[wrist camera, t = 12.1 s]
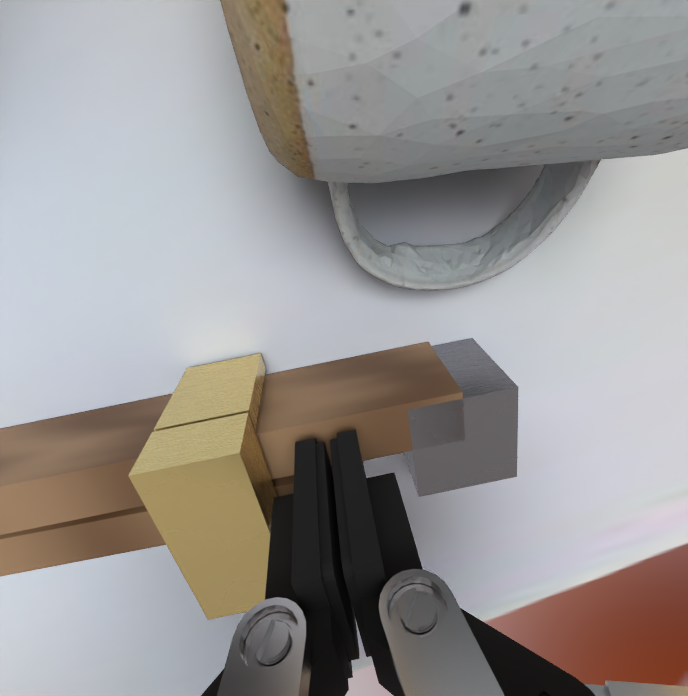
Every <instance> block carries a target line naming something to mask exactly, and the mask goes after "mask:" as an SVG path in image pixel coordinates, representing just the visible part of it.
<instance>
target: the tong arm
mask: <svg viewBox="0 0 688 696" xmlns="http://www.w3.org/2000/svg"><path fill="white" fill-rule="evenodd" d="M331 470H332V467H331ZM332 474H333V470H332ZM272 483H273V485H274V488H275V491H276V494H277V497H279V496H284V495H289V494H293V493H294V475H291V476H286V477H281V478H276V479H272ZM161 545H166V543H165V541H164V539H163V538H162V536H161V534H160V532H159V530H158V529H157V527H156V525H155V523H154V521H153V520H152V518H151V516H150V514H149V512H148V511H147V509H146V507H145V506H140V507H135V508H130V509H125V510H120V511H116V512H111V513H106V514H101V515H96V516H91V517H86V518H81V519H77V520H72V521H67V522H62V523H57V524H52V525H47V526H42V527H38V528H33V529H28V530H23V531H18V532H13V533H8V534H3V535H0V576H5V575H10V574H15V573H20V572H26V571H31V570H36V569H41V568H46V567H52V566H57V565H62V564H67V563H72V562H78V561H83V560H88V559H93V558H99V557H104V556H109V555H114V554H119V553H125V552H130V551H135V550H140V549H145V548H151V547H156V546H161Z"/></svg>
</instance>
